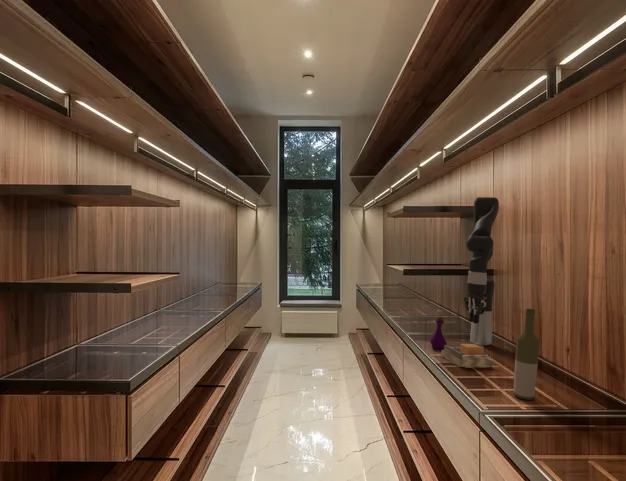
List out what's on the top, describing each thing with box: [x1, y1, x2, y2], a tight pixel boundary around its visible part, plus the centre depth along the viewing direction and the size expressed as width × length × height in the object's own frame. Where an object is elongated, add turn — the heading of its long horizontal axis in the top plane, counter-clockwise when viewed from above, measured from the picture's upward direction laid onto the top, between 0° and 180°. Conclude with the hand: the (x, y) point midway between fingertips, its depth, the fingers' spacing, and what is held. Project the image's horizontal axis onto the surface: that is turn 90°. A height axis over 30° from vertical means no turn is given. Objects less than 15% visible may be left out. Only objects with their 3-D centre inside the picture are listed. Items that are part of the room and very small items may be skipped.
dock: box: [440, 345, 493, 369], centre depth 171 cm, size 15×14×6 cm
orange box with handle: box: [459, 342, 485, 355], centre depth 171 cm, size 8×5×5 cm, turn 103°
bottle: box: [512, 308, 541, 401], centre depth 135 cm, size 7×7×30 cm
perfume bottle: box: [428, 309, 448, 350], centre depth 190 cm, size 8×8×18 cm
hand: (473, 322), depth 171 cm, fingers closed
